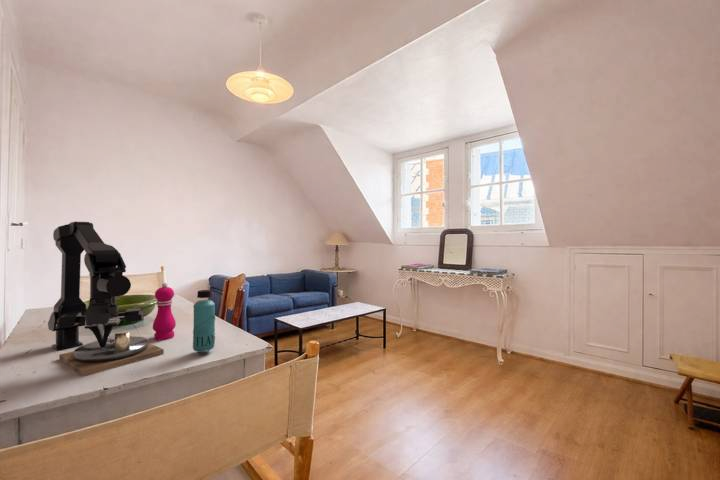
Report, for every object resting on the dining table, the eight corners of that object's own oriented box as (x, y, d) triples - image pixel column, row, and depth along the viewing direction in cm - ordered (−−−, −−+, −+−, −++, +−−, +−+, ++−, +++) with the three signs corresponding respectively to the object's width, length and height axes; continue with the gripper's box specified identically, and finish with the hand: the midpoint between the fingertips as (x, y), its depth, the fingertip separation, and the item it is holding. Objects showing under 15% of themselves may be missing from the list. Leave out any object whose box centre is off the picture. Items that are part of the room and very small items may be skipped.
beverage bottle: (192, 357, 98) (192, 292, 98) (192, 350, 104) (192, 289, 104) (215, 354, 101) (216, 291, 101) (214, 347, 107) (215, 288, 107)
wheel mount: (59, 359, 96) (59, 354, 96) (135, 341, 112) (135, 337, 112) (82, 376, 85) (82, 370, 85) (163, 354, 101) (163, 349, 101)
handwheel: (64, 353, 96) (64, 330, 96) (133, 337, 111) (133, 318, 111) (85, 367, 86) (86, 342, 86) (158, 348, 101) (158, 326, 101)
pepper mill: (164, 341, 113) (165, 284, 113) (147, 339, 114) (147, 283, 114) (180, 335, 120) (180, 281, 120) (163, 333, 122) (164, 281, 121)
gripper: (48, 300, 80) (48, 363, 80) (138, 295, 89) (138, 351, 89) (63, 293, 90) (63, 349, 90) (143, 289, 99) (143, 339, 99)
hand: (103, 347), depth 92 cm, fingers closed
